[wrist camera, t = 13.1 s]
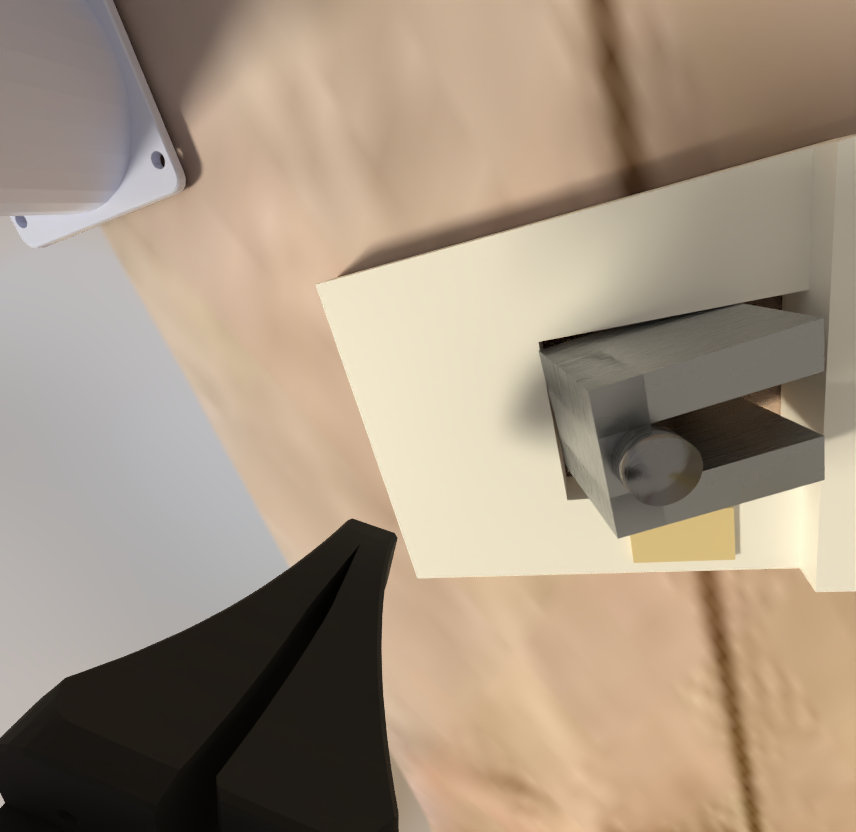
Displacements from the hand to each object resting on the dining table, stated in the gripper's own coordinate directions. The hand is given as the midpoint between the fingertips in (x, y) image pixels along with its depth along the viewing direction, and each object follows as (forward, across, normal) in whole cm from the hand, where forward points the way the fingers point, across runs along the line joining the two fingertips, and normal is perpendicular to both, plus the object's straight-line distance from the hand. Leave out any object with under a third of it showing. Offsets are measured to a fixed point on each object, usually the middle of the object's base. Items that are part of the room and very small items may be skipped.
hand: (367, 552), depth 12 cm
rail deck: (+6, -5, -3) cm, 8 cm away
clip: (+5, -6, -5) cm, 9 cm away
